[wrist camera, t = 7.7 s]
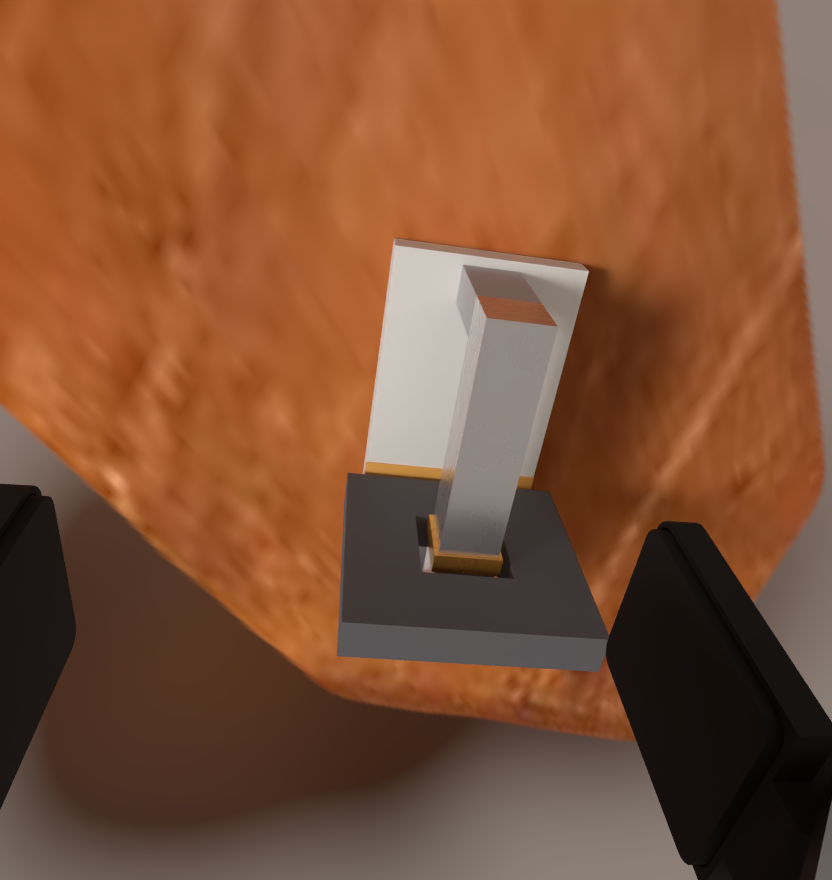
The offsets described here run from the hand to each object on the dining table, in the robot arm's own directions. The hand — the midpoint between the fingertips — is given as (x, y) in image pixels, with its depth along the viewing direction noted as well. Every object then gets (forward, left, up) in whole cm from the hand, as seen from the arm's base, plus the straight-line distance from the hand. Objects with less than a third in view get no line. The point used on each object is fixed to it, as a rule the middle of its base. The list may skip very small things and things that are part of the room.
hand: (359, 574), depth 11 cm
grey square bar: (+11, +7, -21) cm, 25 cm away
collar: (+15, +7, -26) cm, 30 cm away
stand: (+11, +7, -28) cm, 30 cm away
